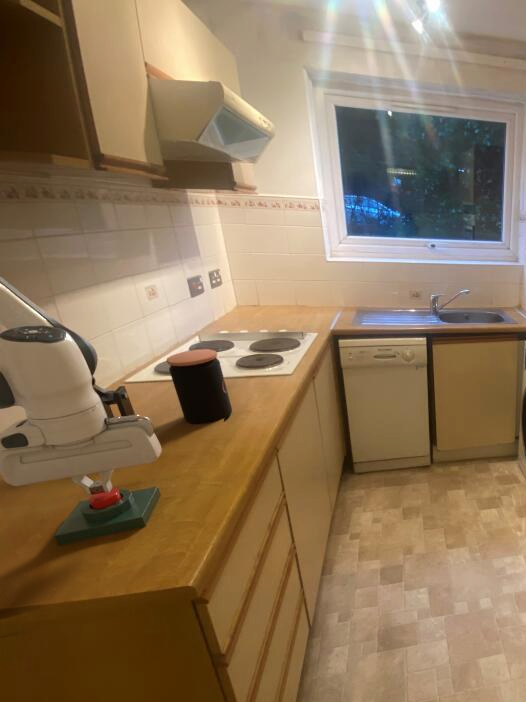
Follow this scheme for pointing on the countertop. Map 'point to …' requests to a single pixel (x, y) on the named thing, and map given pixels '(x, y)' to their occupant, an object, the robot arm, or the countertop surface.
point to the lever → (104, 394)
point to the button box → (109, 516)
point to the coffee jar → (200, 386)
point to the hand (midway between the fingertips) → (100, 491)
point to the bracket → (120, 403)
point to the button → (105, 499)
